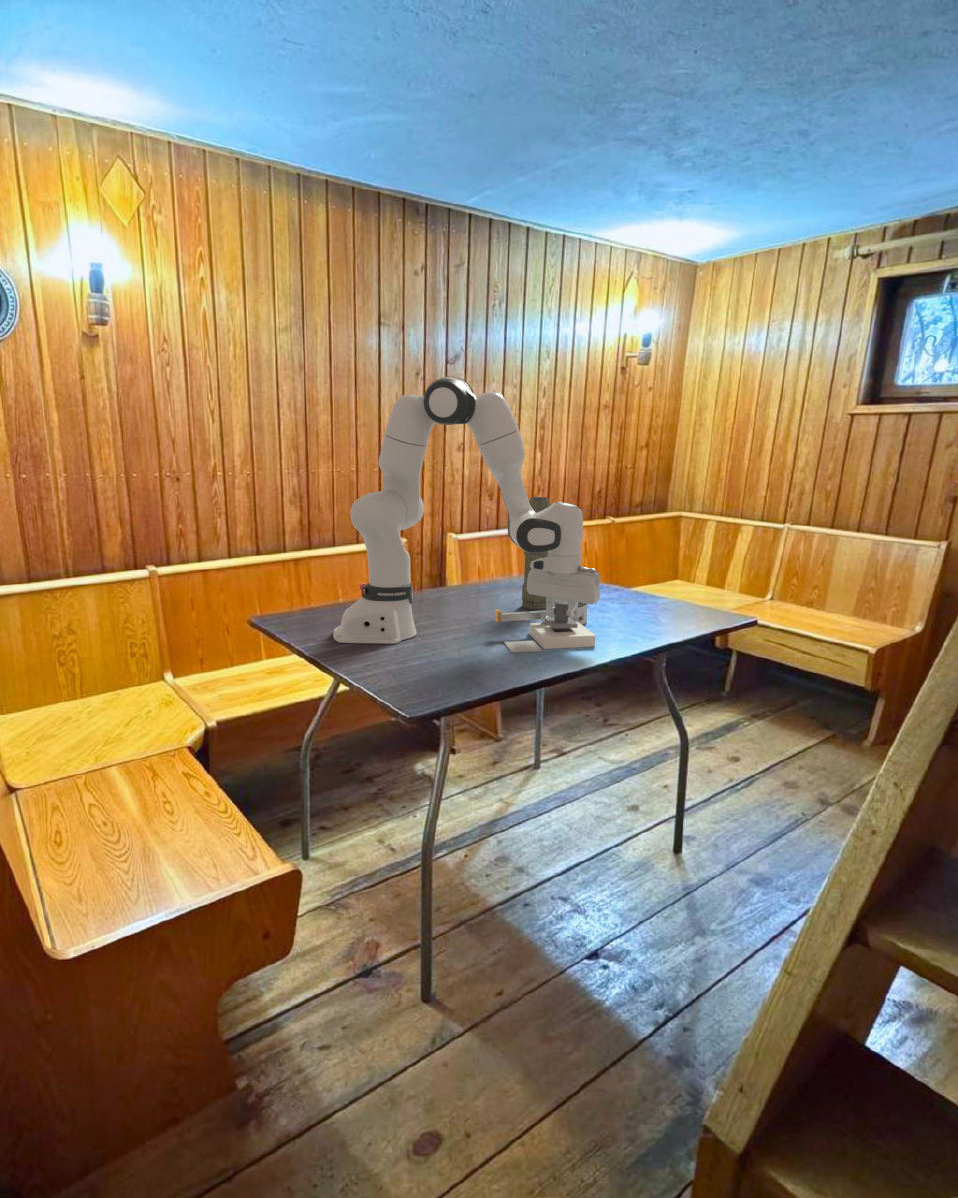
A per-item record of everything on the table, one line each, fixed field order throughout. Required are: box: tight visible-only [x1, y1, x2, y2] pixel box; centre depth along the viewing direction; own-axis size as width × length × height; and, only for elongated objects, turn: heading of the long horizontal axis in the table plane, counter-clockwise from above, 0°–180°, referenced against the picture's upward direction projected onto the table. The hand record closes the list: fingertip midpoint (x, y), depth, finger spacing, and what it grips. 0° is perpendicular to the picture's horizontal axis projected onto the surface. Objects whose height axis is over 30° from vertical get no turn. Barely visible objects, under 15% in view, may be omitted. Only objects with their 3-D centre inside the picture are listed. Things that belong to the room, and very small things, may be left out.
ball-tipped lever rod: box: [494, 608, 550, 624], centre depth 186 cm, size 16×2×4 cm, turn 107°
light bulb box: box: [545, 598, 588, 626], centre depth 201 cm, size 11×7×11 cm, turn 57°
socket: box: [528, 621, 596, 650], centre depth 184 cm, size 14×14×3 cm
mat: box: [503, 640, 543, 654], centre depth 177 cm, size 8×8×1 cm
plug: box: [545, 602, 578, 632], centre depth 183 cm, size 7×7×9 cm
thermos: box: [521, 496, 552, 611], centre depth 215 cm, size 9×12×35 cm
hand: (561, 615), depth 183 cm, fingers closed on plug, 4 cm apart
